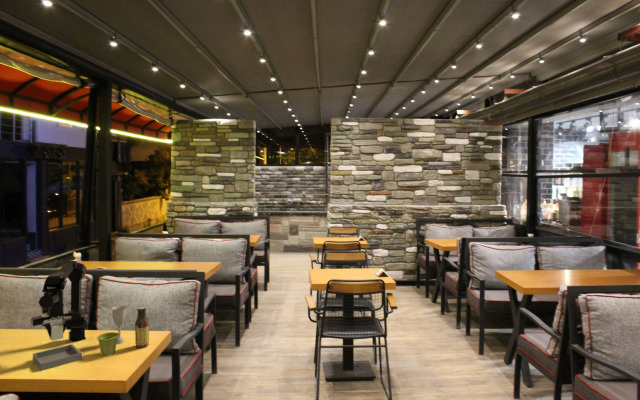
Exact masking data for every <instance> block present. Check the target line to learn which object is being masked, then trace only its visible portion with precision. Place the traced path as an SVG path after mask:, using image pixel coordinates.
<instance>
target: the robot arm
mask: <svg viewBox="0 0 640 400" xmlns="http://www.w3.org/2000/svg"><path fill="white" fill-rule="evenodd" d="M86 273H87V266H86V265H85V264H84V263H81V262H79V261H78V260H65V261H64V264H63V265H62V266H61V267H60V268H59V269H58V270H57V272H54V273H50V274H49V275H48V276H47V278H46V279H45V280H44V284H43V288H42V290H41V292H42V293H43V296H42V295H41V297H40V298H39V300H38V305H39V307H40V308H41V315H37V316H32V317H31V318H30V324H31V326H32V327H36V326H42V327H44V328H45V329H46V331H47V335H48V338H49V337H51V327H50V325H51V323H50V321H53V320H59V319H61V324H62V325H63V335H64V333H65V332H66V330H69V331H68V340H69V341H70V342H71V343H75V342H79V341H80V342H81V341H84V340H86V339H87V337H86V328H88V325H89V320H87V317H86V316H85V315H86V314H85V312H84V310H83V309H82V281H83V279H84V278H85V277H86ZM67 279H68V280H69V281H70V310H68V311H67V312H66V313H64V290H65V288H66V284H67V282H68V280H67ZM44 314H46V316H45V317H43V316H42V315H44Z"/></svg>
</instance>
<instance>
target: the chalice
mask: <svg viewBox="0 0 640 400" xmlns="http://www.w3.org/2000/svg"><path fill="white" fill-rule="evenodd" d="M126 309H127V306H125V305H118V306H113V307H111V311H112V319H113V322H114V324H115V325H116V326H117V331H118V332H117V333H119V336H118V338H117V343H116V345H121V344H123V342H124V343H125V342H126V341H125V339H124V337H123V336H121V334H122V332H121V330H122V328H121V327H122V325H123V324H124V322H125V320H126V313H127V311H126Z"/></svg>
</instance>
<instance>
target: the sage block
mask: <svg viewBox="0 0 640 400" xmlns="http://www.w3.org/2000/svg"><path fill="white" fill-rule="evenodd" d="M50 327H51V337H49V336H48V339H49V340H50V341H57V340H61V339H64V334H63V325H62V322H60V323H55V324H50Z"/></svg>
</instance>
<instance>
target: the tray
mask: <svg viewBox="0 0 640 400" xmlns="http://www.w3.org/2000/svg"><path fill="white" fill-rule="evenodd" d="M82 360H83V353H82V352H81V351H80V349H78V348H77V347H76V346H75V345H74V344H73V343H71V344H67V345H62V346H59V347H55V348H51V349H50V348H49V349H46V350H43V351H38V352H33V353H32V361H33V362H34V364H35V365H36V366H37V367H38V369H39V370H40V371H46V370H49V369H53V368H57V367H60V366H63V365H67V364H72V363H74V362H77V361H82Z"/></svg>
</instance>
